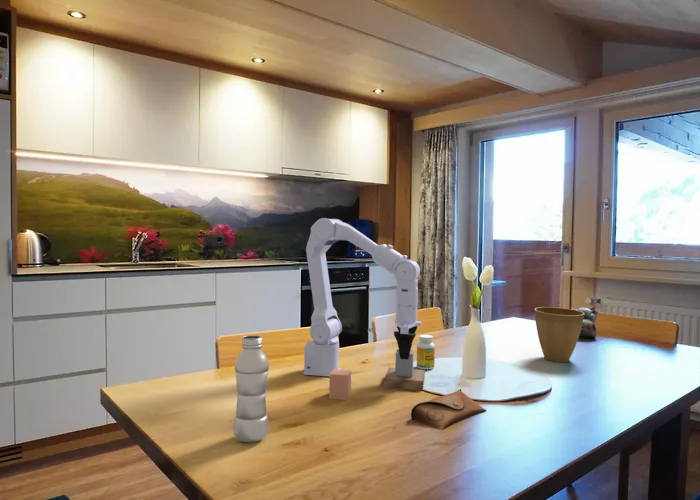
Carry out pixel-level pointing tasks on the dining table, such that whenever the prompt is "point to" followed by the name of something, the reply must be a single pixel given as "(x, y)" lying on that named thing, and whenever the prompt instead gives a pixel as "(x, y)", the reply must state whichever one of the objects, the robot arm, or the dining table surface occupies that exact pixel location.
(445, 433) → the dining table surface
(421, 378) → the walnut base
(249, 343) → the plastic bottle
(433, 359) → the supplement bottle
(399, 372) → the slate block
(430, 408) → the sunglasses case
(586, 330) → the lucky cat figurine
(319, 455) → the dining table surface
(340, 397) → the terracotta block
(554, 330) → the plant pot
